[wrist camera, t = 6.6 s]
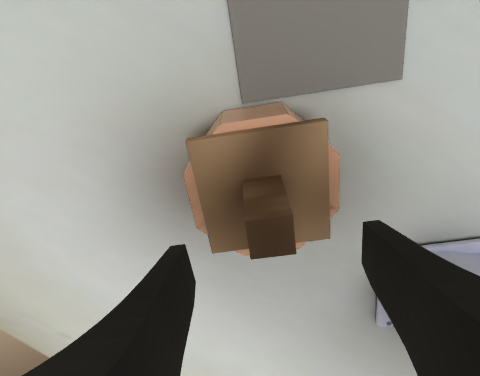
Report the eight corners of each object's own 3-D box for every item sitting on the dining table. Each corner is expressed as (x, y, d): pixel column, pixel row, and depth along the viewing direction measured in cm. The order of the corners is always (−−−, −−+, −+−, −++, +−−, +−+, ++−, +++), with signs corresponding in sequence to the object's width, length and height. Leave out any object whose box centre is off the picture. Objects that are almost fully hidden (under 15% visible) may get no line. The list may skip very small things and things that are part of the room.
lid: (324, 117, 15) (356, 148, 11) (327, 232, 18) (353, 289, 14) (187, 138, 16) (169, 174, 12) (213, 247, 19) (206, 306, 15)
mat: (417, -138, 13) (420, -141, 13) (399, 78, 17) (402, 79, 17) (213, -98, 14) (213, -100, 14) (242, 102, 18) (242, 103, 18)
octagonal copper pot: (323, 95, 18) (338, 106, 15) (326, 217, 21) (339, 243, 19) (181, 117, 18) (171, 131, 15) (208, 232, 22) (204, 260, 19)
